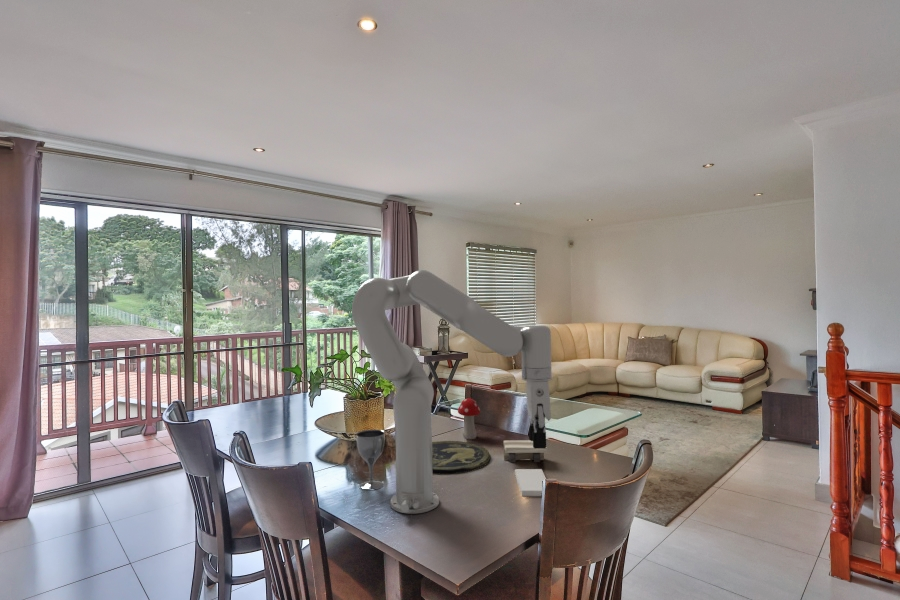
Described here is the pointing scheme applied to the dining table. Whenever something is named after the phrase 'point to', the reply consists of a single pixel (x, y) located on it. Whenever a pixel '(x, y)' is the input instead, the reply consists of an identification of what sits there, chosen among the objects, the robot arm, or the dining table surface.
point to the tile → (530, 481)
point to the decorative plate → (457, 457)
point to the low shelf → (522, 450)
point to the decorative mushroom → (469, 417)
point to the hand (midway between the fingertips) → (537, 443)
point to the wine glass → (370, 453)
